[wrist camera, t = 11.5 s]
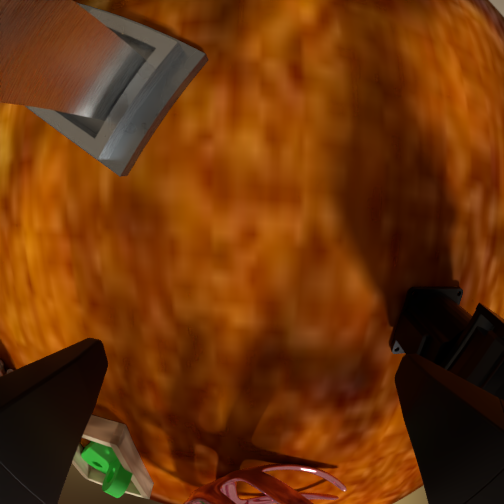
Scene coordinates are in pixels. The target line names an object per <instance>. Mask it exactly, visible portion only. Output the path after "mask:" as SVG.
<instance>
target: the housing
mask: <svg viewBox="0 0 504 504" xmlns="http://www.w3.org/2000/svg"><path fill="white" fill-rule="evenodd" d="M77 4H78V5H79V6H81V7H82V8H83V9H85V10H86V11H87V12H89V13H90V14H91V15H93V16H94V17H95V18H96V19H98V20H99V21H100V22H101V23H103V24H104V25H105V26H106V27H108V28H109V29H110V30H111V31H113V32H114V33H115V34H116V35H117V36H119V37H120V38H121V39H122V40H123V41H125V42H126V43H127V44H128V45H129V46H130V47H132V48H133V49H134V50H135V51H136V52H137V53H139V54H140V55H141V56H142V57H143V58H144V59H145V60H147V61H146V62H145V63H144V64H143V66H142V67H141V68H140V70H139V71H138V72H137V74H136V75H135V76H134V78H133V79H132V81H131V82H130V83H129V85H128V86H127V88H126V89H125V91H124V92H123V94H122V95H121V97H120V98H119V100H118V101H117V103H116V104H115V106H114V107H113V109H112V111H111V112H110V114H109V115H108V117H107V119H106V120H105V121H102V120H98V119H94V118H89V117H85V116H80V115H75V114H70V113H65V112H60V111H55V110H49V109H43V108H37V107H31V106H26V107H27V108H28V109H30V110H31V111H32V112H34V113H35V114H36V115H38V116H39V117H40V118H42V119H43V120H44V121H46V122H47V123H48V124H50V125H51V126H52V127H54V128H55V129H56V130H58V131H59V132H60V133H62V134H63V135H64V136H66V137H67V138H68V139H70V140H71V141H72V142H74V143H75V144H76V145H78V146H79V147H80V148H82V149H83V150H85V151H86V152H87V153H89V154H90V155H91V156H93V157H94V158H95V159H97V160H98V161H100V162H101V163H102V164H104V165H105V166H106V167H108V168H109V169H111V170H112V171H113V172H115V173H116V174H117V175H119V176H127V175H128V174H129V172H130V170H131V168H132V167H133V165H134V163H135V162H136V160H137V158H138V157H139V155H140V154H141V152H142V150H143V149H144V147H145V146H146V144H147V142H148V141H149V139H150V138H151V136H152V135H153V133H154V132H155V130H156V129H157V127H158V126H159V124H160V123H161V121H162V120H163V118H164V117H165V116H166V114H167V113H168V111H169V110H170V108H171V107H172V106H173V104H174V103H175V102H176V100H177V99H178V98H179V96H180V95H181V94H182V92H183V91H184V90H185V88H186V87H187V86H188V84H189V83H190V82H191V81H192V79H193V78H194V77H195V76H196V74H197V73H198V72H199V71H200V70H201V68H202V67H203V66H204V65H205V64H206V62H207V61H208V58H207V56H206V54H205V53H203V52H201V51H199V50H197V49H195V48H193V47H191V46H189V45H187V44H185V43H183V42H181V41H179V40H177V39H175V38H173V37H170V36H168V35H166V34H164V33H161V32H159V31H157V30H155V29H152V28H150V27H147V26H145V25H142V24H140V23H137V22H135V21H132V20H130V19H127V18H124V17H121V16H118V15H116V14H113V13H110V12H107V11H103V10H100V9H97V8H94V7H90V6H87V5H83V4H79V3H77ZM24 106H25V105H24Z"/></svg>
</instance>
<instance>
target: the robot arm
mask: <svg viewBox="0 0 504 504" xmlns="http://www.w3.org/2000/svg"><path fill="white" fill-rule="evenodd" d="M413 292H415V293H414V294H413ZM412 294H413V295H412ZM462 294H463V290H462V289H461V288H460V287H412V288H410V289H409V291H408V293H407V297H406V301H405V304H404V308H403V311H402V313H401V316H400V320H399V323H398V326H397V329H396V332H395V335H394V340H393V343H392V346H391V351H392V353H394V354H399V353H406V355H404V356H403V358H402V360H401V362H400V365H399V367H398V370H397V372H396V375H395V384H396V388H397V392H398V396H399V401H400V405H401V409H402V414H403V418H404V421H405V425H406V428H407V431H408V434H409V437H410V440H411V443H412V446H413V449H414V453H415V456H416V459H417V463H418V466H419V469H420V473H421V477H422V480H423V484H424V488H425V491H426V495H427V499H428V504H504V319H503V318H501V317H500V316H498V315H497V314H496V313H494V312H493V311H491V310H490V309H488V308H487V307H485V306H484V305H482V304H481V303H479V304H478V305H477V307H476V311H475V313H474V314H473V316H471V315H470V314H469V313H468V312H467V311H465V310H464V309H463V308H462V307H461V306H459V304H460V301H461V298H462ZM395 348H396V349H395ZM107 367H108V361H107V357H106V354H105V350H104V346H103V343H102V341H101V340H99V339H94V338H87V339H85V340H83V341H80V342H78V343H76V344H74V345H71V346H69V347H67V348H65V349H62V350H60V351H58V352H56V353H53V354H51V355H49V356H46V357H44V358H42V359H40V360H37V361H35V362H33V363H30V364H28V365H26V366H24V367H21V368H19V369H17V370H14V371H12V372H10V373H7V374H5V375H3V376H0V504H58V500H59V497H60V494H61V491H62V488H63V486H64V483H65V480H66V477H67V474H68V472H69V468H70V466H71V464H72V461H73V458H74V456H75V453H76V451H77V448H78V446H79V443H80V441H81V438H82V436H83V433H84V431H85V429H86V426H87V424H88V422H89V419H90V417H91V415H92V412H93V410H94V407H95V404H96V402H97V398H98V395H99V392H100V389H101V386H102V383H103V380H104V377H105V374H106V371H107Z"/></svg>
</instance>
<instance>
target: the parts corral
mask: <svg viewBox="0 0 504 504" xmlns="http://www.w3.org/2000/svg"><path fill="white" fill-rule="evenodd" d="M82 438H85V439H88V440H91V441H94V442H96V443H99V444H102V445H106V446H109V447H112V449H113V451H114V452H115V454H116V456H117V458H118V459H119V461H120V463H121V464H122V466H123V468H124V469H125V470H127V471H129V472H131V473H133V475H132V478H131V481H130V483H129V486H128V488H127V489H126V491H125V493H128V494H132V495H135V496H139V497H143V498H147V499H150V495H151V491H152V487H153V484H154V483H153V481H152V480H151V478H150V476H149V474H148V472H147V470H146V468H145V466H144V464H143V462H142V460H141V458H140V456H139V454H138V451H137V449H136V447H135V445H134V443H133V440H132V438H131V436H130V433H129V431H128V429H127V426H126V424H122V423H118V422H115V421H111V420H107V419H104V418H101V417H97V416H94V415H91V417H90V419H89V422H88V424H87V426H86V429H85V431H84V433H83V436H82ZM83 450H84V449H83V447H82V446H81V444H80V443H79V446H78V448H77V451H76V453H75V456H74V458H73V461H72V463H73V465H74V466H75V467H76V468H77V469H78V471H79V472H80V473H81V474H82V476H83V477H84V478H85V479H88V480H90V481H93V482H95V483H98V484H101V485H103V481H104V478H105V476H106V474H104V473H102V472H100V471H99V470H97V469H95V468H94V467H92V466H91V465H89V464H88V463H87V462H85V461H84V460H83V458H82V457H81V454H82V452H83Z"/></svg>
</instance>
